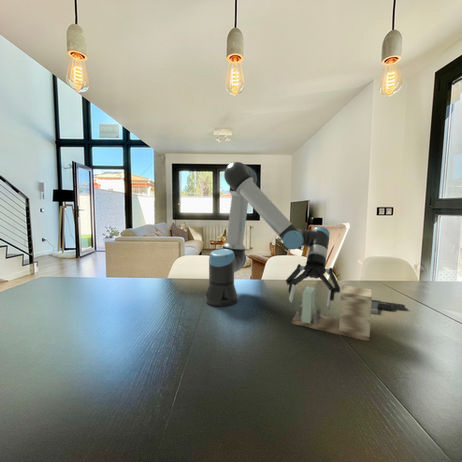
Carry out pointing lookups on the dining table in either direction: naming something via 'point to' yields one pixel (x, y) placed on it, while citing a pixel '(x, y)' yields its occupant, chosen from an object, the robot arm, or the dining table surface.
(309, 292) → the pale green block
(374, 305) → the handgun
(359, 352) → the dining table surface
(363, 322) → the wooden rack
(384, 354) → the dining table surface
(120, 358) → the dining table surface
